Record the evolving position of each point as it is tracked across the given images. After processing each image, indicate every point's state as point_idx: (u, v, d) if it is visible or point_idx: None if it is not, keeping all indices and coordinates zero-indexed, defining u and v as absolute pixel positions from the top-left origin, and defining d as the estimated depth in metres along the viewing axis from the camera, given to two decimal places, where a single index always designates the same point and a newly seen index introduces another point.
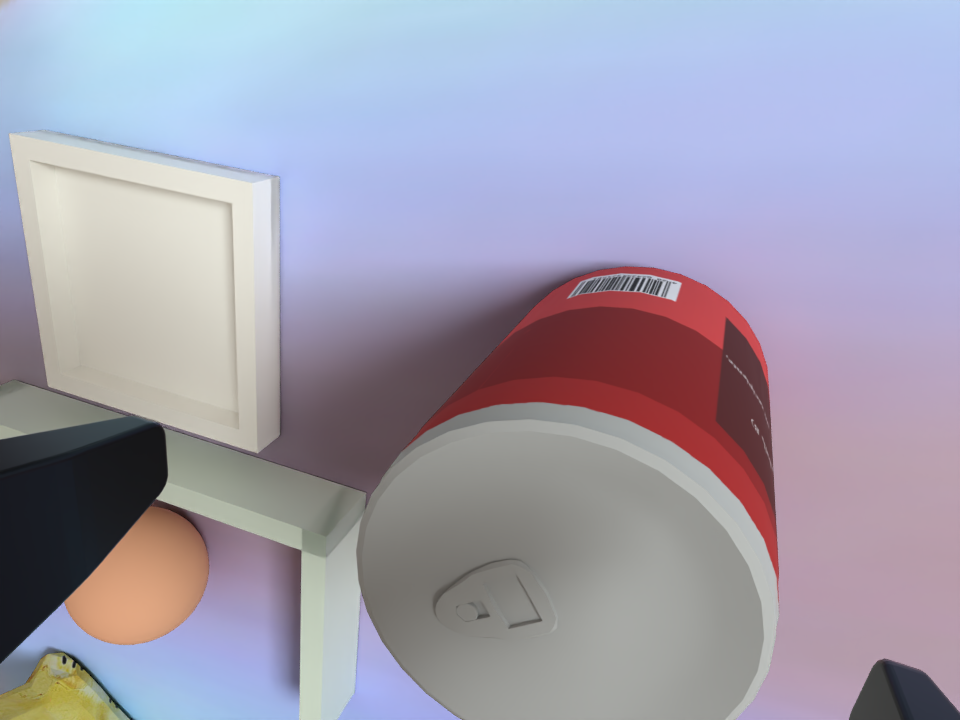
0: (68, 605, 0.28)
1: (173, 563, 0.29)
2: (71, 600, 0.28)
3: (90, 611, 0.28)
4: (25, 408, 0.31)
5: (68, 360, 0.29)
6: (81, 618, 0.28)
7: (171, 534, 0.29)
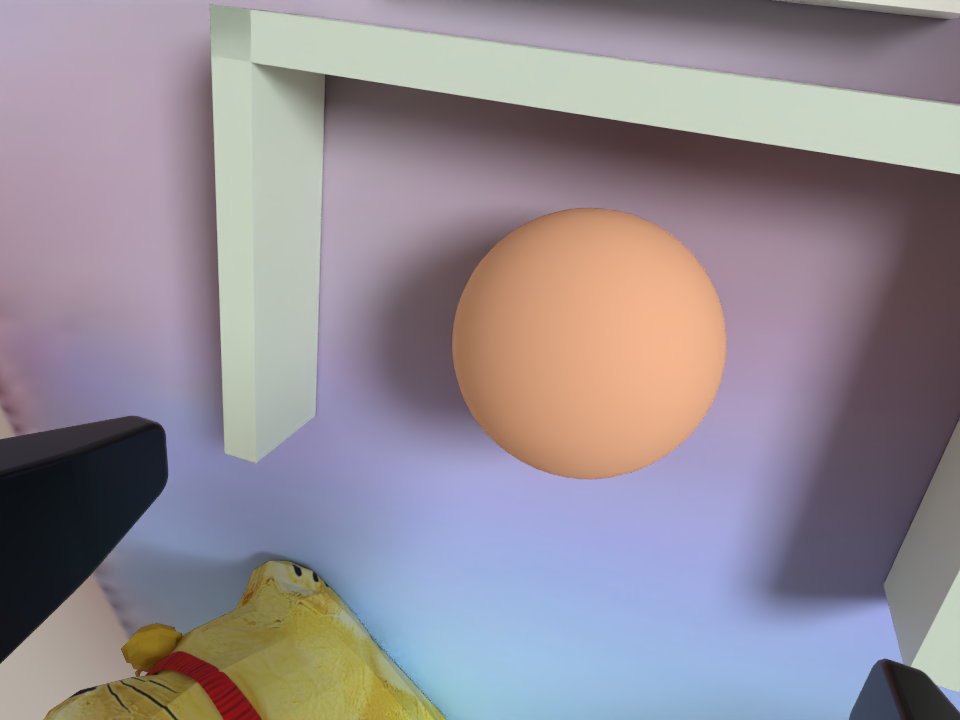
0: (506, 376, 0.13)
1: (713, 296, 0.14)
2: (521, 360, 0.13)
3: (575, 379, 0.12)
4: (350, 22, 0.15)
5: None
6: (542, 400, 0.13)
7: (685, 247, 0.14)
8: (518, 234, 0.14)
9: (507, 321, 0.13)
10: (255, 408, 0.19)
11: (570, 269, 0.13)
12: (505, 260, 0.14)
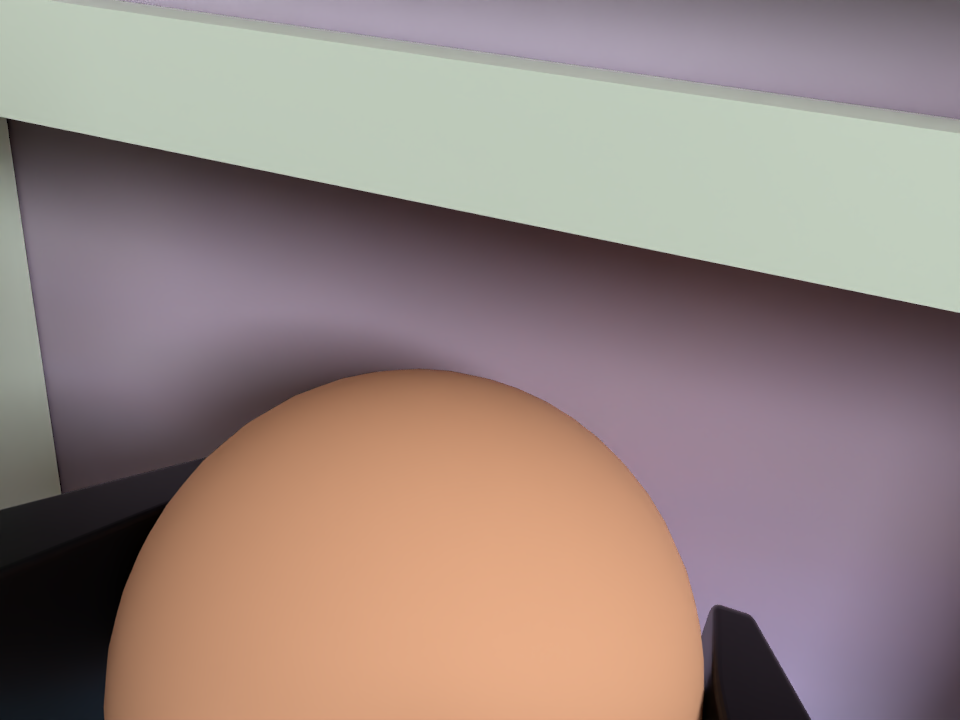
0: None
1: (668, 613, 0.06)
2: None
3: None
4: None
5: None
6: None
7: (613, 474, 0.06)
8: (234, 449, 0.06)
9: (145, 714, 0.05)
10: None
11: (292, 600, 0.05)
12: (180, 527, 0.06)
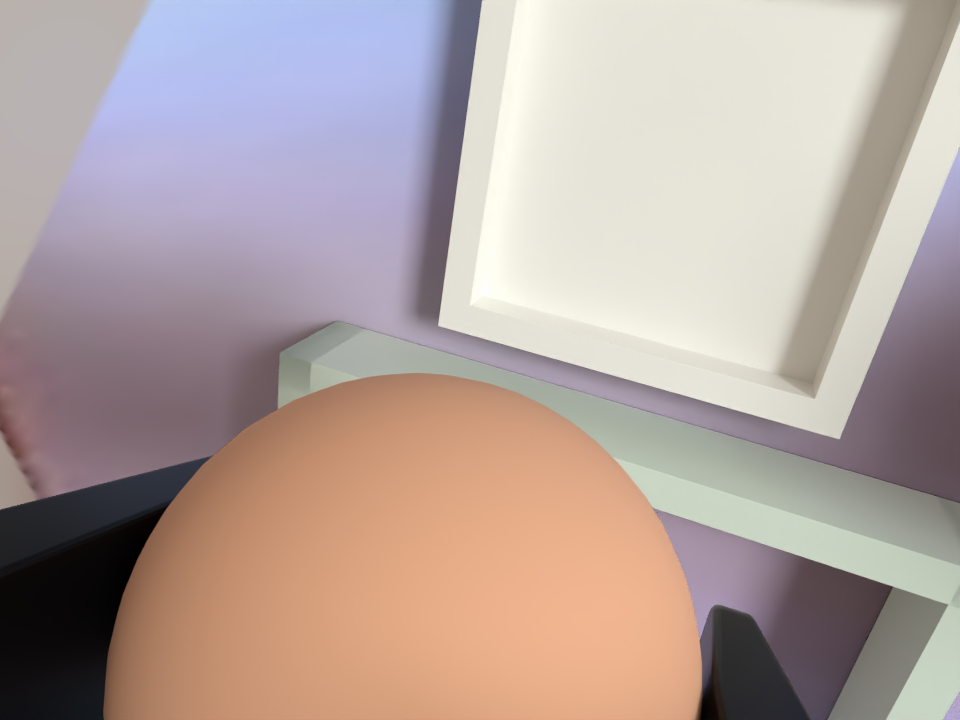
0: None
1: (668, 618, 0.06)
2: None
3: None
4: (385, 360, 0.20)
5: (478, 285, 0.19)
6: None
7: (611, 479, 0.06)
8: (233, 454, 0.06)
9: (145, 719, 0.05)
10: None
11: (290, 605, 0.05)
12: (179, 532, 0.06)
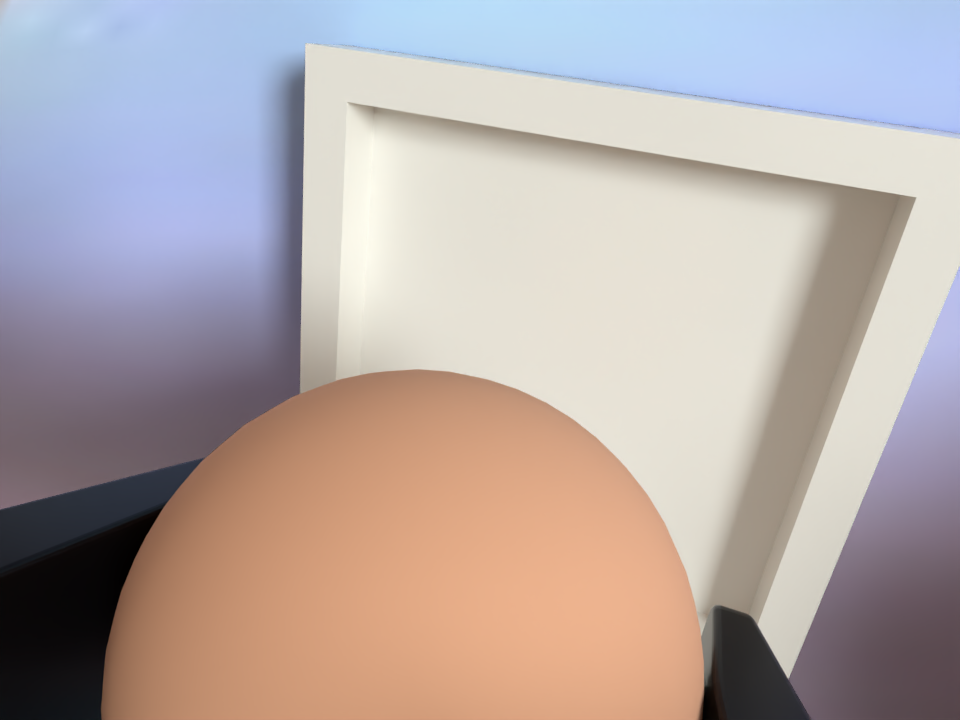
0: None
1: (669, 614, 0.06)
2: None
3: None
4: None
5: None
6: None
7: (613, 475, 0.06)
8: (232, 450, 0.06)
9: (143, 717, 0.05)
10: None
11: (290, 600, 0.05)
12: (178, 528, 0.06)
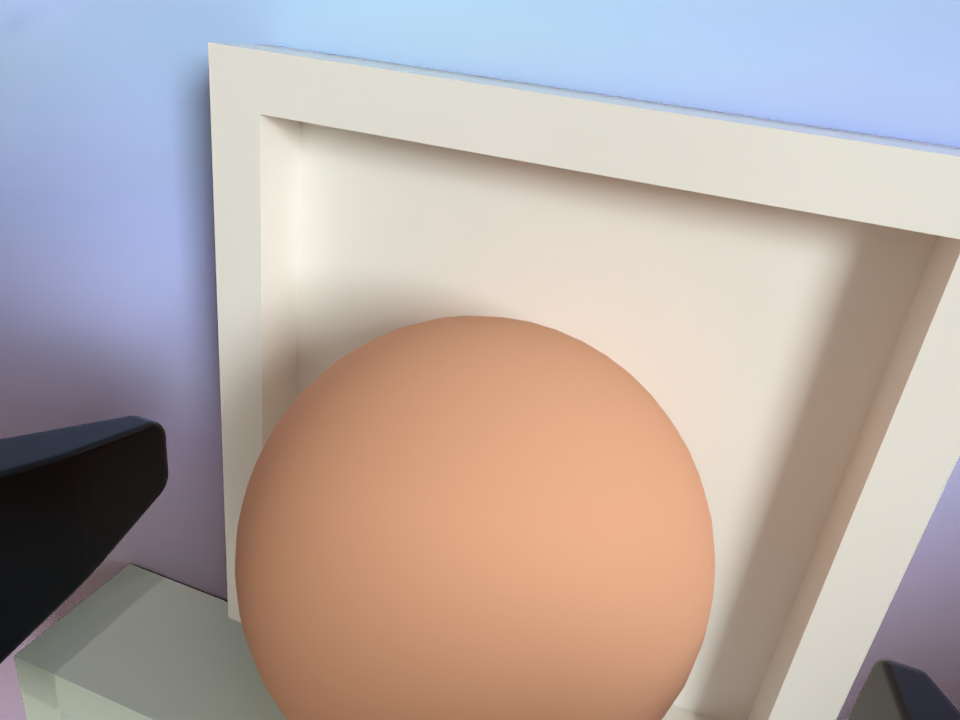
0: (288, 667, 0.07)
1: (688, 497, 0.07)
2: (310, 648, 0.06)
3: (408, 701, 0.06)
4: (170, 649, 0.15)
5: None
6: None
7: (641, 394, 0.08)
8: (338, 373, 0.08)
9: (288, 564, 0.07)
10: None
11: (405, 471, 0.06)
12: (302, 430, 0.07)
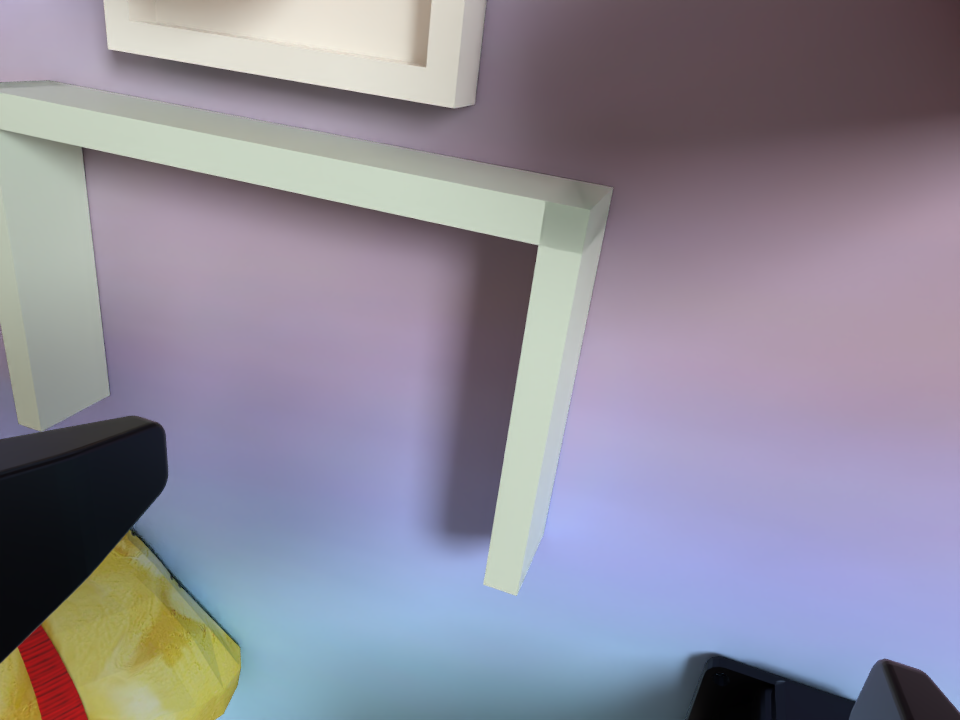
0: None
1: None
2: None
3: None
4: (71, 95, 0.20)
5: (140, 3, 0.19)
6: None
7: None
8: None
9: None
10: (34, 388, 0.24)
11: None
12: None
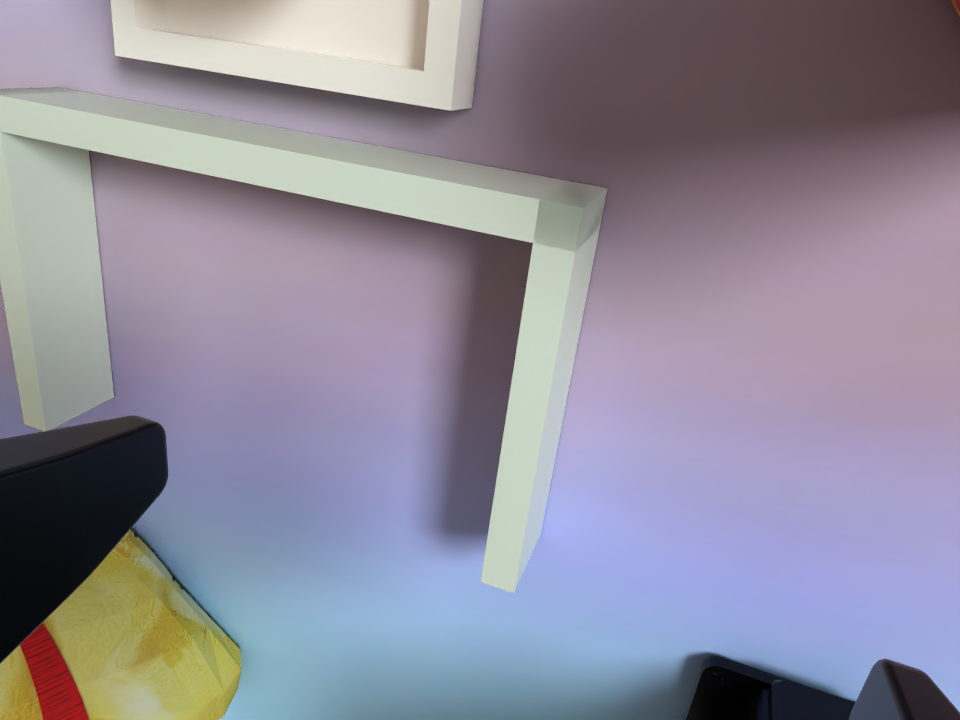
0: None
1: None
2: None
3: None
4: (79, 100, 0.21)
5: (147, 11, 0.20)
6: None
7: None
8: None
9: None
10: (39, 388, 0.24)
11: None
12: None
